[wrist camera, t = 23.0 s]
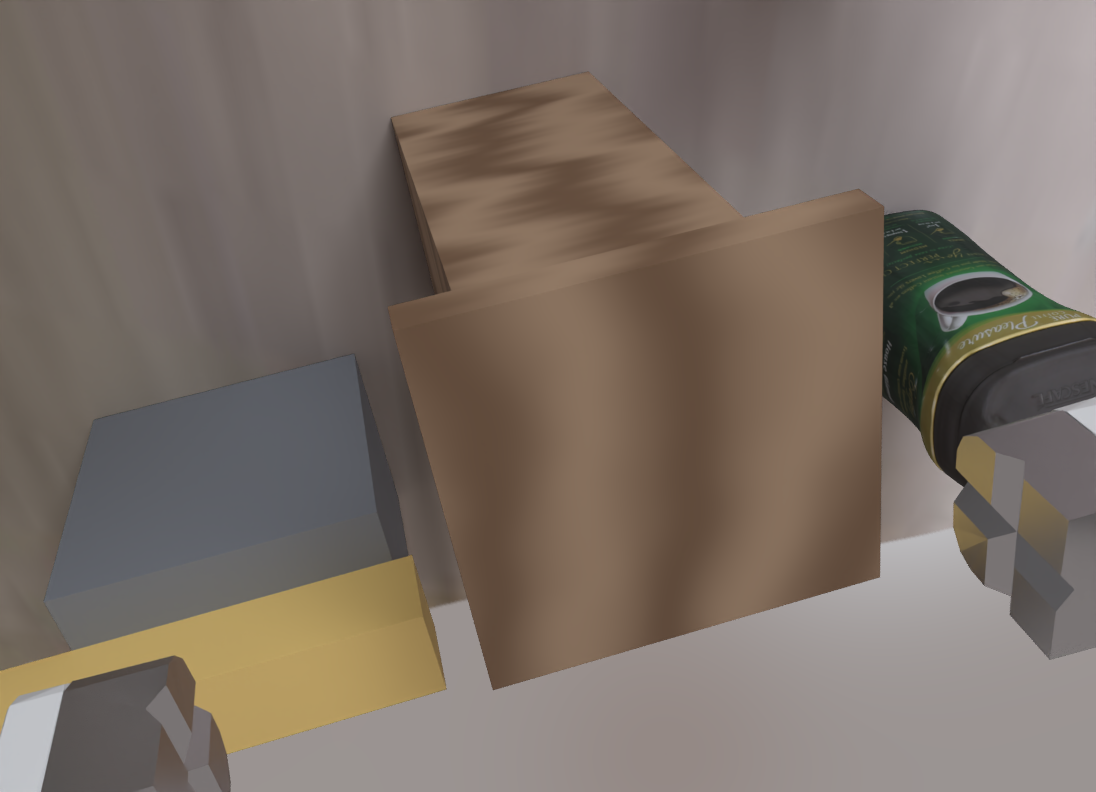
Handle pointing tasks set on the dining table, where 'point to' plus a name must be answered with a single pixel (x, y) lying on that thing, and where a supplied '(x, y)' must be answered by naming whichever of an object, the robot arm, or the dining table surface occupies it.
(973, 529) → the robot arm
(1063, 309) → the coffee jar
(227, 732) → the yellow bar
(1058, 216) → the dining table surface
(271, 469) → the podium
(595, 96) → the walnut stand
